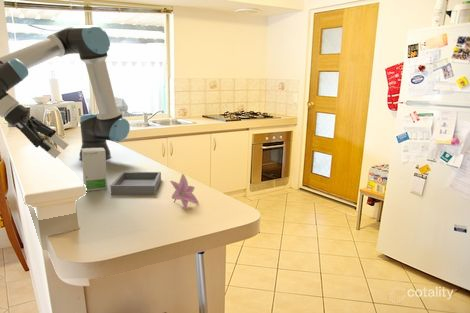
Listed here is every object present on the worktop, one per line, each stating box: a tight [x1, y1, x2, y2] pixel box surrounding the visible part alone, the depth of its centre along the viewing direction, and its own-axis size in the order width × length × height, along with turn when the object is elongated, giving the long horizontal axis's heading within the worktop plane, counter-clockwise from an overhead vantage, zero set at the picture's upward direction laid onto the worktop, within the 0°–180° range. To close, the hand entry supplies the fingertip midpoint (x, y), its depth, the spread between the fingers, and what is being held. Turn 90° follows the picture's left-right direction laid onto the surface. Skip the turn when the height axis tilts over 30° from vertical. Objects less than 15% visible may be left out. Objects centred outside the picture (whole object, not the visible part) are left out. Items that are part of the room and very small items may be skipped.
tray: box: [110, 171, 162, 196], centre depth 135 cm, size 18×16×4 cm
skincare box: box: [80, 148, 108, 192], centre depth 132 cm, size 8×7×16 cm
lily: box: [169, 173, 200, 210], centre depth 119 cm, size 12×12×10 cm
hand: (62, 151), depth 127 cm, fingers open, 13 cm apart
